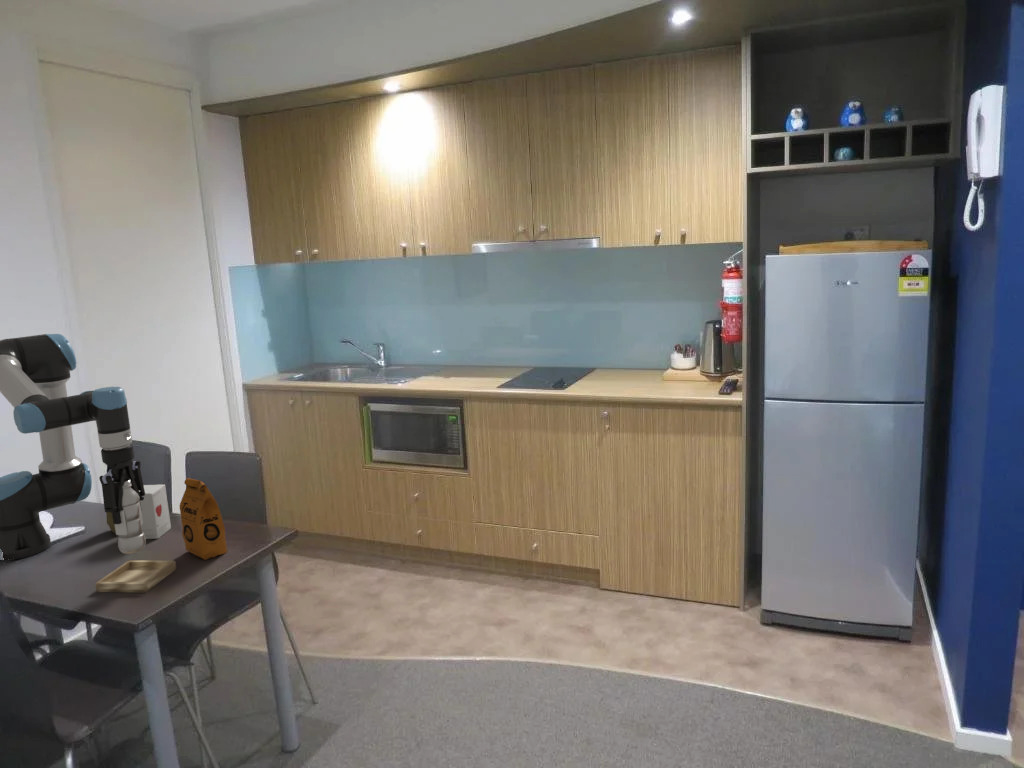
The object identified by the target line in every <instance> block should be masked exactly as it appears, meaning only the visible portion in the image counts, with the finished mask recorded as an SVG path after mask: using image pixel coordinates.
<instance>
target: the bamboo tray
mask: <svg viewBox="0 0 1024 768" xmlns="http://www.w3.org/2000/svg"><path fill="white" fill-rule="evenodd" d="M176 564H177V563H176V560H145V559H144V560H143V559H142V560H137V559H135V560H133V559H132V560H131V559H130V560H127V561H126V562H124V563H123V564H121V565H120V566H118V567H117V568H115V569H114V570H112V571H111V572H109V573H108V574H107V575H105V576H104V577H103V578H101V579H99V580H98V581H97V582H95V585H94V586H95V590H96V593H138V594H139V593H140V594H141V593H142V594H143V593H144V594H146V593H147V592H148V591H150V590H151V589H153V588H154V587H155V586H156V585H158V584H159V583H161V582H162V581H163V580H164V579H165V578H166V577H168V576H169V575H170V574H172V573H173V572H174V571H176V570H177V565H176Z"/></svg>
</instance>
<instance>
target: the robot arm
mask: <svg viewBox="0 0 1024 768" xmlns="http://www.w3.org/2000/svg"><path fill="white" fill-rule="evenodd" d="M76 367H77V359H76V355H75V352H74V349H73V346H72V344H71V343H70V341H69V340H68V338H67V337H66V336H64V335H63V334H61V333H44V334H37V335H28V336H19V337H12V338H11V337H10V338H4V339H0V393H1V395H2V396H3V397H4V398H5V399H6V401H8V402H9V404H10V405H11V406H12V407H13V420H14V424H15V426H16V427H17V430H18V431H19V433H21V434H33V433H38V436H39V440H40V447H41V448H40V449H41V454H42V461H41V462H40V463H39V464H38V465H37V466H38V473H35V474H33V473H32V472H31V471H29V470H22V471H19V472H12V473H9V474H5V475H3V476H1V477H0V549H1V550H2V552H3V558H4V561H13V560H19V559H23V558H28V557H31V556H35V555H36V554H39V553H41V552H44V551H46V550H47V549H48V548H49V547H51V545H52V541H51V537H50V534H49V533H48V532H47V531H46V528H45V527H44V525H43V523H42V522H41V518H40V513H41V512H45V511H48V510H52V509H56V508H59V507H64V506H66V505H73V504H75V503H78V502H81V501H84V500H86V499H87V498H88V497H89V495H90V494H91V492H92V485H93V484H92V483H93V482H92V474H91V470H90V467H89V466H88V464H86V463H85V462H83V461H82V459H81V458H80V457H78V456H77V455H76V450H75V449H76V448H75V442H74V436H73V430H72V426H74V425H79V424H84V423H89V422H95V423H96V424H95V425H96V428H97V436H98V443H99V448H101V450H100V453H101V454H100V455H101V459H102V463H103V464H105V465H106V473H105V474H104V475H100V476H99V478H98V479H99V481H100V484H101V492H102V499H103V507H104V508H103V509H104V513H106V512H111V513H112V517H113V523H114V525H115V531H116V533H115V535H116V536H118V535H126V534H127V528H126V521H125V515H124V510H121V503H122V486H123V485H124V480H125V479H130V480H131V484H132V486H131V488H132V489H133V490H134V491H135V492H136V493H138V495H139V498H140V501H142V500H144V497H142V496H144V495H145V490H144V485H145V484H144V482H143V476H142V471H141V461H140V460H139V461H138V460H135V461H134V460H133V459H135V450H134V445H133V444H132V443H133V438H132V433H131V432H132V431H131V426H130V425H131V424H130V417H129V410H128V405H127V404H128V400H127V397H126V394H125V389H124V388H122V387H121V386H106V387H100V388H97V389H94V390H86V391H83V392H81V393H79V394H76V395H70V396H68V393H67V385H66V384H67V382H68V381H69V380H70V379H71V372H72V371H74V370H76ZM115 482H119V483H115ZM139 491H140V492H139ZM116 507H117V508H116ZM139 512H140V522H141V525H142V524H143V520H142V513H141V503H140V507H139Z"/></svg>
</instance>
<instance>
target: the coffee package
mask: <svg viewBox="0 0 1024 768" xmlns="http://www.w3.org/2000/svg"><path fill="white" fill-rule="evenodd" d="M184 485H186V487H185V491H184V492H183V495H182V498H181V500H180V503H179V511H180V519H181V520H180V521H181V522H180V523H181V526H182V527H181V528H182V530H181V531H182V534H181V535H182V538H183V541H184V545H185V551H187V552H189V553H191V554H193V555H195V557H196V556H197V557H199V558H201V559H203V560H204V561H206V559H207V560H208V559H211V557H213V558H215V557H217V555H218V556H220V555H223V554H226V553H228V548H227V541H226V528H225V525H224V521H223V517H222V514H221V510H220V507H219V505H218V502H217V501H216V498H215V497H214V495H213V494H212V493H211V491H210V489H209V488H208V486H207V485H206V484H205V483H204V482H203V481H201V480H198V479H194V478H189V477H188V478H186V479H185V480H184Z"/></svg>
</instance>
